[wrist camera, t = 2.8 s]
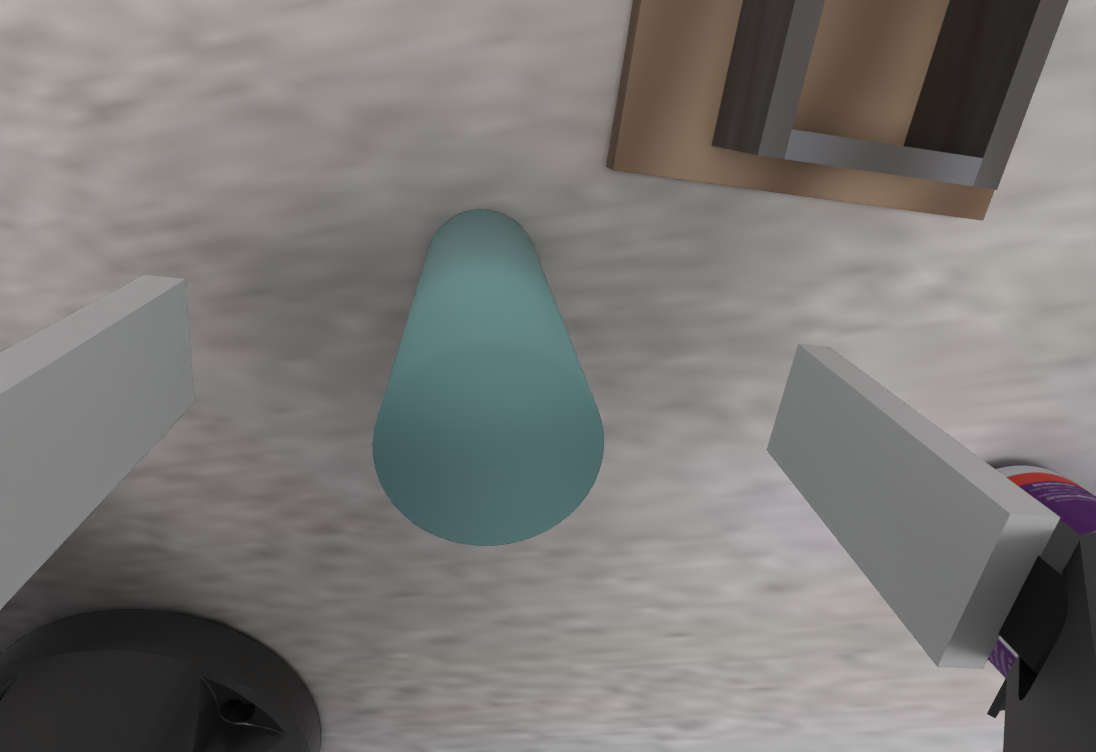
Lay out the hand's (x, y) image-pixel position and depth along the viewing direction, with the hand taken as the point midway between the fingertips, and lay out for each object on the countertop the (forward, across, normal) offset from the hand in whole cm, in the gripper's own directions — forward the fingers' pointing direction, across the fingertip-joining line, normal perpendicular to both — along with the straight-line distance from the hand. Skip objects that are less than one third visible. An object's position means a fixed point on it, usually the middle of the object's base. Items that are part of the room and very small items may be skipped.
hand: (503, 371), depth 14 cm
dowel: (+11, 0, 0) cm, 11 cm away
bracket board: (+11, +10, +10) cm, 18 cm away
